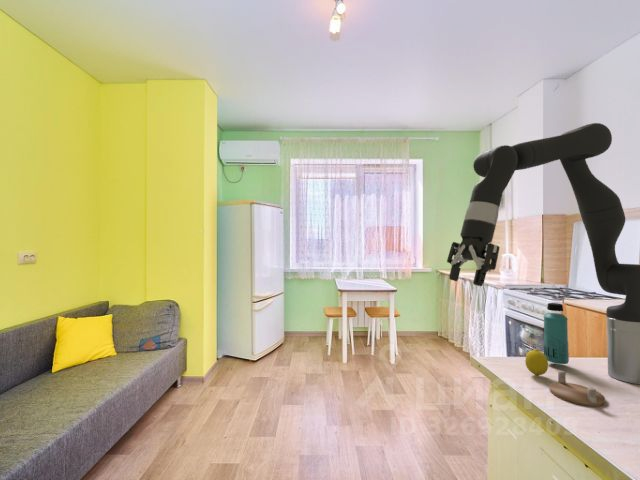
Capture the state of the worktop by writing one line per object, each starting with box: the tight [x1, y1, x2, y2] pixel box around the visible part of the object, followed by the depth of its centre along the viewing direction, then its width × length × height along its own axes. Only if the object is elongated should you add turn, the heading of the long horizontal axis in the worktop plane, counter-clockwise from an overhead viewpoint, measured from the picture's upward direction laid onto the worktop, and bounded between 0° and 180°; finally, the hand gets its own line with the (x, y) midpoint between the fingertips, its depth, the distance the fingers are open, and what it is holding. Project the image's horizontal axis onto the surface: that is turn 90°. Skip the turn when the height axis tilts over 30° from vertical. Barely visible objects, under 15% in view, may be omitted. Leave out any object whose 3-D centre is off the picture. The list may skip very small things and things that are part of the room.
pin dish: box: [549, 370, 606, 407], centre depth 80 cm, size 11×11×4 cm
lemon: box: [524, 348, 549, 377], centre depth 92 cm, size 6×6×8 cm
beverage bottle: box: [543, 302, 570, 365], centre depth 101 cm, size 6×7×20 cm
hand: (464, 282), depth 79 cm, fingers open, 8 cm apart
